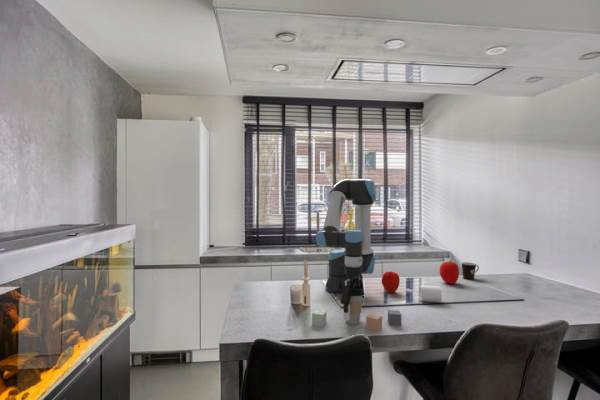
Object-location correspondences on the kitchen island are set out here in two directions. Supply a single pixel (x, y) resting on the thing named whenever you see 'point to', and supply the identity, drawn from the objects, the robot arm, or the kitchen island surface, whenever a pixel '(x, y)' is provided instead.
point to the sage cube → (319, 317)
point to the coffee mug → (469, 270)
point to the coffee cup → (355, 306)
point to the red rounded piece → (390, 281)
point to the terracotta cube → (374, 322)
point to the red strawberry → (449, 272)
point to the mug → (430, 294)
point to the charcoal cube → (394, 317)
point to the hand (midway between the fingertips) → (352, 315)
